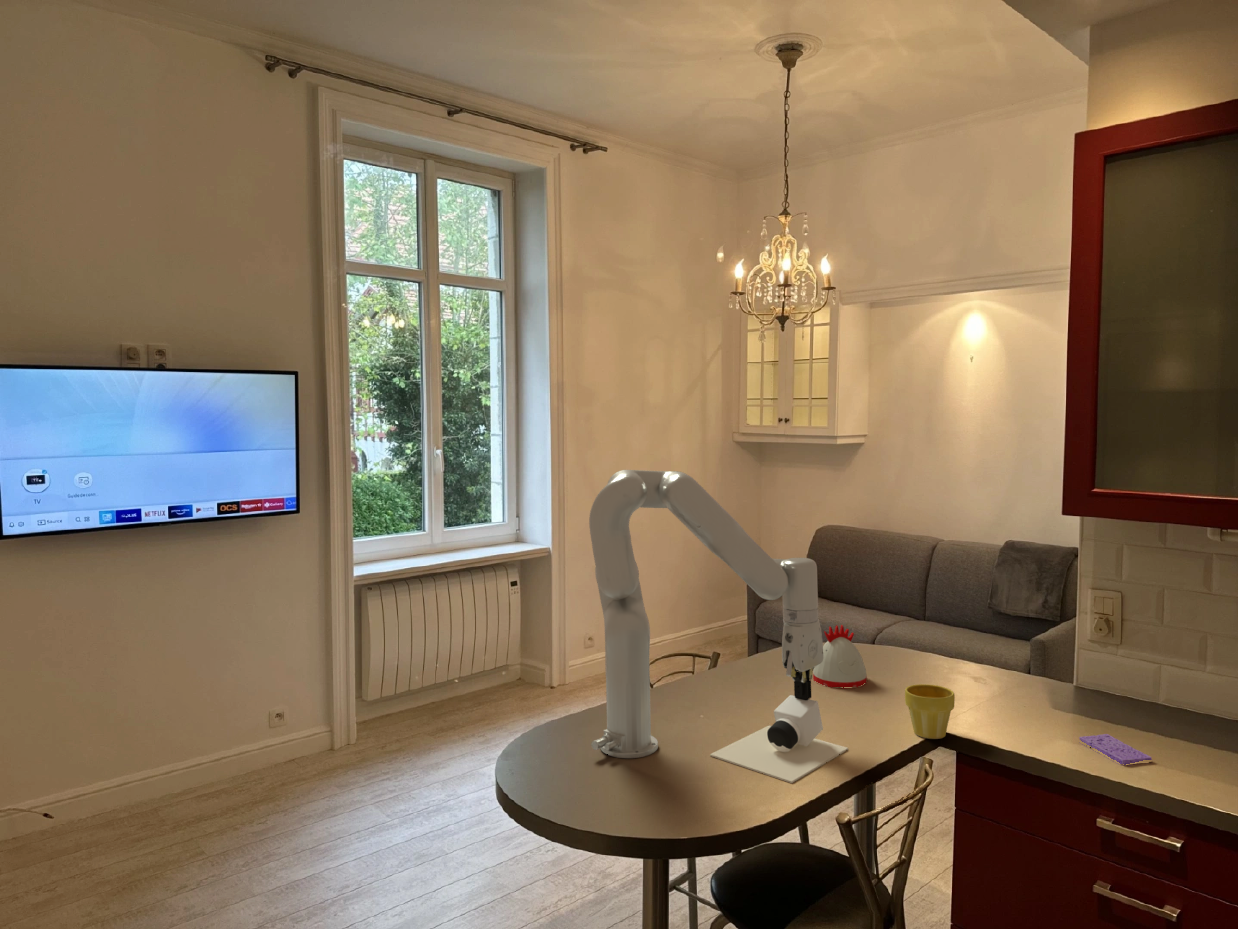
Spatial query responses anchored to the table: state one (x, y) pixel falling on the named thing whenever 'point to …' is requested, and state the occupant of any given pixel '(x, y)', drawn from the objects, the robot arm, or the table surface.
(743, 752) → the mat
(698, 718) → the table surface
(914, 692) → the plant pot
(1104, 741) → the sponges
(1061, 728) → the table surface
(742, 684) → the table surface
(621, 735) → the robot arm
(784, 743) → the medicine bottle
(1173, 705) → the table surface
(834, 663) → the kitchen timer
